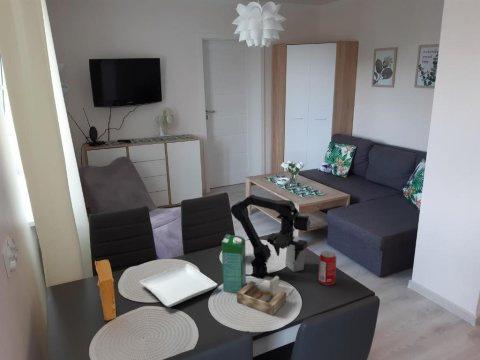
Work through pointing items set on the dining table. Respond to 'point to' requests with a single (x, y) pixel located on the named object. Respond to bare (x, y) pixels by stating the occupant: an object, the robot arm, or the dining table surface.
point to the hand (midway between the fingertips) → (286, 258)
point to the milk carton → (233, 263)
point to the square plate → (178, 284)
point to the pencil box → (261, 298)
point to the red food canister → (327, 267)
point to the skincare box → (290, 257)
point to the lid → (275, 286)
